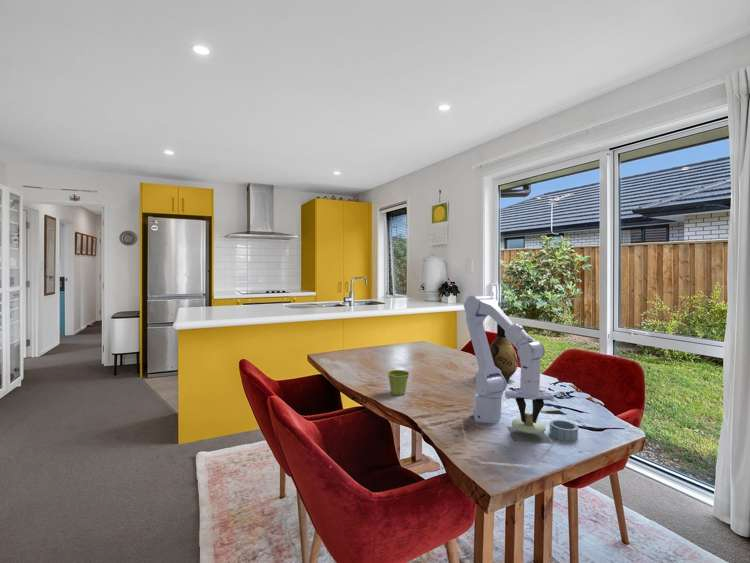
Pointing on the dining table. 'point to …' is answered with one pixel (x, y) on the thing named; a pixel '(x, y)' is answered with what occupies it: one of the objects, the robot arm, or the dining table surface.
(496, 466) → the dining table surface
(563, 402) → the dining table surface
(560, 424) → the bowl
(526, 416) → the lid
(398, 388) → the plant pot
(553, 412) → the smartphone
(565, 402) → the dining table surface
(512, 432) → the mat
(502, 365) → the ceramic jug
